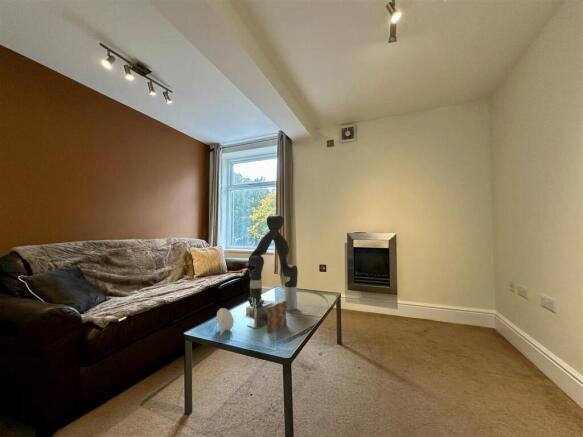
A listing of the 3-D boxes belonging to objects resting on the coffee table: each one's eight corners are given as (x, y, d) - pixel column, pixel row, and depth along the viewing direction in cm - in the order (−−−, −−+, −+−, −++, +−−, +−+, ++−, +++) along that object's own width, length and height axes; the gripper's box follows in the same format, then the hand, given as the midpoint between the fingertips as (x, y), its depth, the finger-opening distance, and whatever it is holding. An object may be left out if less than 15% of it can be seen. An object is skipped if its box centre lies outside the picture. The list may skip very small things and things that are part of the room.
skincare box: (264, 309, 163) (245, 307, 169) (265, 317, 162) (245, 315, 169) (279, 301, 182) (261, 299, 188) (279, 308, 181) (261, 306, 188)
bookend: (261, 319, 158) (261, 301, 159) (270, 322, 154) (270, 303, 154) (247, 326, 148) (247, 306, 148) (256, 329, 143) (256, 308, 144)
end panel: (284, 324, 150) (284, 300, 151) (286, 325, 150) (286, 300, 150) (267, 333, 137) (267, 307, 138) (269, 334, 137) (269, 307, 137)
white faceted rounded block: (229, 338, 132) (230, 310, 132) (210, 337, 132) (211, 310, 133) (235, 330, 142) (235, 304, 143) (217, 330, 142) (218, 304, 143)
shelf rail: (251, 315, 167) (251, 309, 167) (286, 325, 149) (286, 318, 150) (249, 315, 166) (249, 309, 166) (285, 326, 148) (285, 319, 148)
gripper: (267, 286, 153) (267, 314, 152) (252, 284, 160) (252, 310, 159) (259, 289, 147) (259, 317, 146) (244, 286, 154) (244, 313, 153)
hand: (255, 313), depth 153 cm, fingers closed
